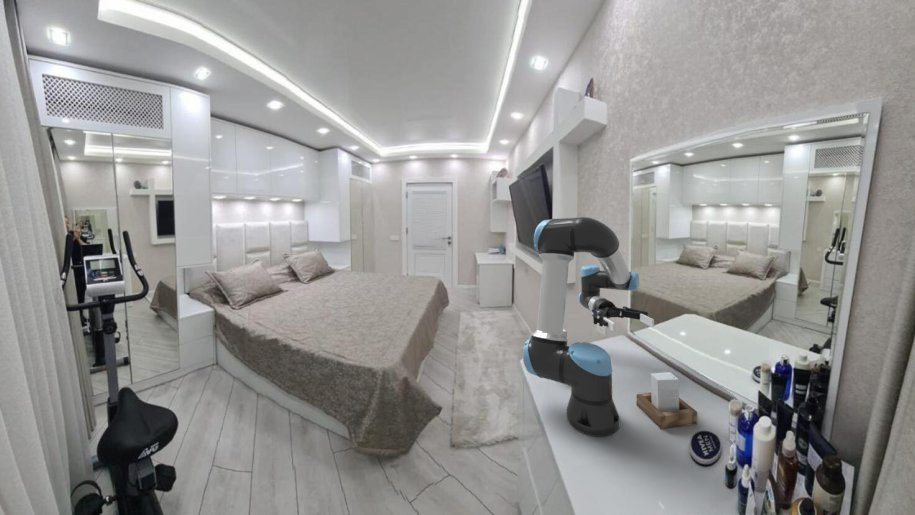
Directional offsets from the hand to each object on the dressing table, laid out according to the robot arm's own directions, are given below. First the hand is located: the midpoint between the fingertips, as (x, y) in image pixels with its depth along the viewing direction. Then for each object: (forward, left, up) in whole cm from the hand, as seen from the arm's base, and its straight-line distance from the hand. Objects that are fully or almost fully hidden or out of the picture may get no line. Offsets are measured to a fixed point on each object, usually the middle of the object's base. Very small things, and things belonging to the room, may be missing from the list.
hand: (633, 325), depth 105 cm
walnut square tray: (+1, -14, -24) cm, 27 cm away
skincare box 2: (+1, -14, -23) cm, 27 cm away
